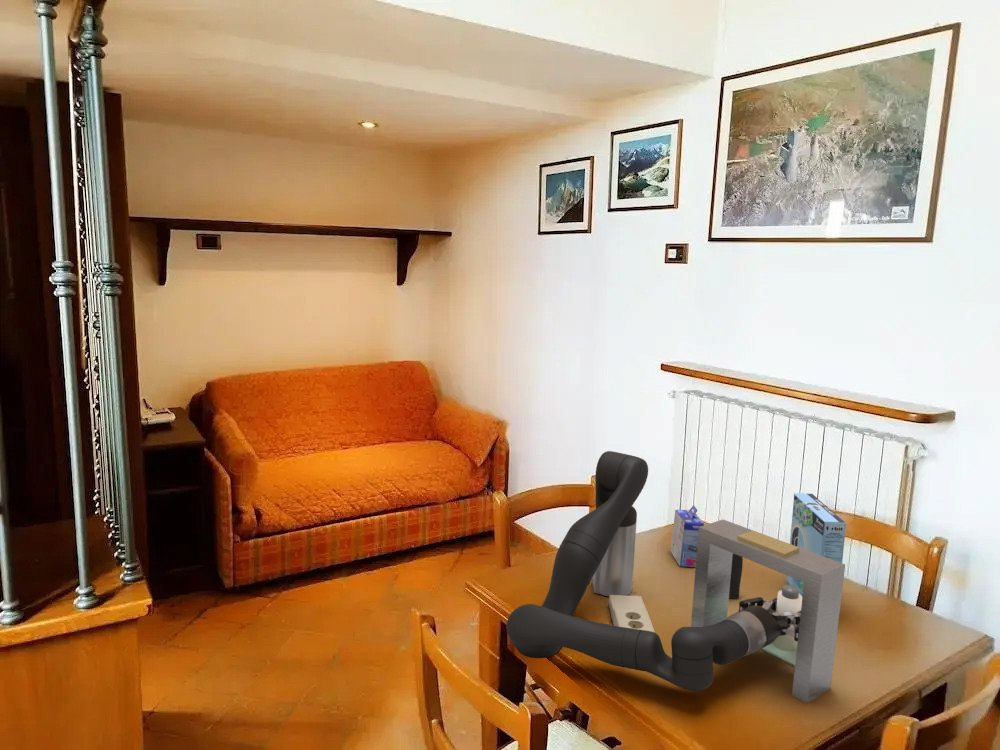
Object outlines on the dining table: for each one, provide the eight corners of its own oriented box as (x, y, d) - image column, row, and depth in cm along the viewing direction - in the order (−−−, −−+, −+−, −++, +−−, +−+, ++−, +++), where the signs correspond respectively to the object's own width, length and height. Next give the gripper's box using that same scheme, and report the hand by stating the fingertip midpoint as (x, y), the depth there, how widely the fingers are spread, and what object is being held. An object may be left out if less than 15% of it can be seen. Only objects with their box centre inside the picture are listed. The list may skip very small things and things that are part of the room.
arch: (807, 703, 126) (822, 572, 122) (689, 638, 146) (699, 524, 142) (830, 688, 130) (845, 561, 126) (713, 627, 151) (723, 516, 147)
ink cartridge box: (701, 568, 180) (705, 514, 178) (679, 567, 180) (683, 514, 178) (690, 552, 190) (694, 501, 188) (670, 551, 190) (674, 500, 188)
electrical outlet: (641, 592, 158) (656, 634, 141) (640, 609, 159) (655, 653, 141) (609, 590, 159) (620, 632, 141) (608, 607, 159) (619, 651, 141)
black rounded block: (735, 591, 168) (739, 546, 166) (740, 599, 164) (744, 553, 162) (706, 590, 168) (709, 545, 166) (710, 598, 164) (713, 551, 162)
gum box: (836, 621, 155) (848, 523, 152) (812, 619, 156) (823, 521, 152) (805, 581, 174) (814, 493, 171) (784, 580, 175) (793, 492, 171)
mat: (794, 666, 137) (794, 664, 137) (749, 643, 145) (749, 641, 145) (821, 650, 143) (821, 648, 143) (776, 629, 151) (776, 627, 151)
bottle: (777, 650, 142) (782, 593, 140) (769, 638, 147) (775, 582, 144) (800, 651, 142) (806, 594, 140) (792, 639, 146) (798, 583, 144)
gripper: (714, 632, 141) (763, 609, 151) (779, 667, 129) (827, 639, 140) (717, 598, 139) (766, 577, 150) (783, 629, 128) (831, 604, 138)
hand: (795, 607), depth 144 cm, fingers open, 5 cm apart
